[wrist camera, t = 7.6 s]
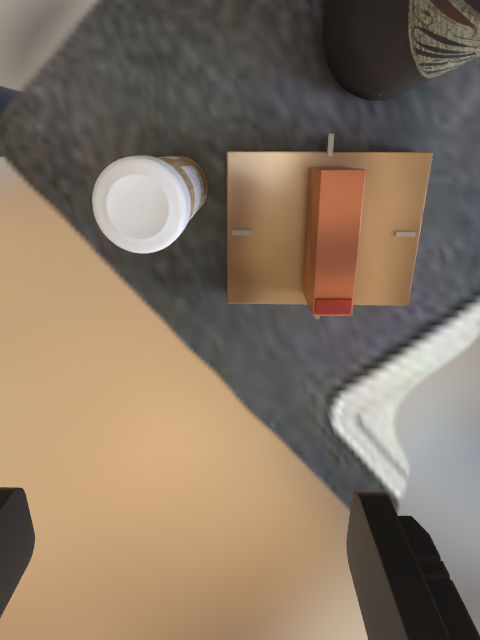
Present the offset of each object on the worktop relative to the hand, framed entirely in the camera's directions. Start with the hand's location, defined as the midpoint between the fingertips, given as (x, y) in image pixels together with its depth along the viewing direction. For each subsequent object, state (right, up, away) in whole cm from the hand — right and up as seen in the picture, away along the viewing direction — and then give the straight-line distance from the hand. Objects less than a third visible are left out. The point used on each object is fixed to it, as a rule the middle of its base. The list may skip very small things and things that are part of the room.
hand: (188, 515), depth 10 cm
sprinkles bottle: (-3, +15, +22) cm, 27 cm away
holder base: (+7, +12, +23) cm, 27 cm away
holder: (+7, +11, +20) cm, 24 cm away
